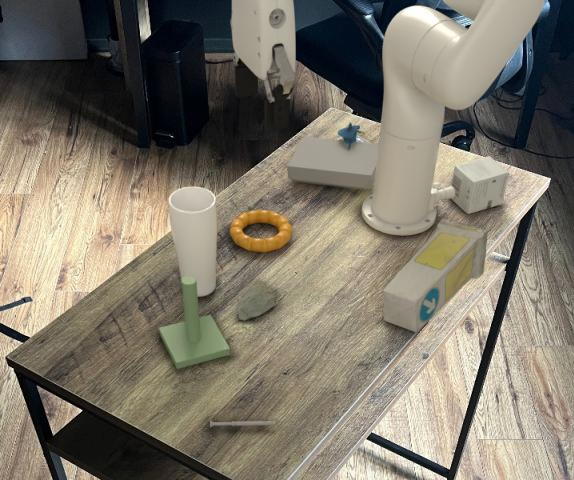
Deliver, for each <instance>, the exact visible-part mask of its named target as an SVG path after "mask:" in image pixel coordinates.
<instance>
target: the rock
mask: <svg viewBox="0 0 574 480" xmlns="http://www.w3.org/2000/svg"><path fill="white" fill-rule="evenodd" d="M275 305H276V296H275V294H274V292H273V290H272V288H271V287H269V286H268V285H266V284H265V283H263V282H262V281H260V280H257V281H255V283H254V285H253V286H252V288H251V289H250V290H249V291H247V292H246V295H245V296H244V297H242V298H241V299H240V301H239V304H238V308H237V309H236V314H237V316H238V320H240V321H243V322H245V321H247V320H250V319H252V318H255V317H260V316H261V315H264V314H265V313H267V311H269V310H271V309H272V308H274V307H275Z"/></svg>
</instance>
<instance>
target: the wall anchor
mask: <svg viewBox="0 0 574 480" xmlns="http://www.w3.org/2000/svg"><path fill="white" fill-rule="evenodd" d="M276 423H277V422H276V420H273V421H272V420H267V421H265V420H257V421H256V420H252V421H251V420H249V421H233V420H232V421H218V422H217V421H216V422H214V421H213V420H212V419H210V420H209V428H210V429H211V428H213V427H216V426H218V427H220V426H222V427H223V426H225V427H226V426H232V428H233V427H236V426H237V427H239V426H240V427H245V426H247V427H249V426H250V427H251V426H255V427H256V426H257V427H258V426H260V427H263V426H268V427H269V426H276V425H277V424H276Z"/></svg>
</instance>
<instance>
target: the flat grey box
mask: <svg viewBox="0 0 574 480" xmlns="http://www.w3.org/2000/svg"><path fill="white" fill-rule="evenodd" d="M335 139H336V138H324V137H315V136H305V135H304V136H303V137H302V139H301V141H300V142H299V144H298V146H297V148H296V149H295V152H294V153H293V155H292V156H291V158H290V160H289V162H288V163H287V165H286V168H287V169H286V170H287V178H288V179H289V180H290V181H292V182H296V183H299V184H300V183H301V184H308V185H318V186H326V187H334V188H335V187H336V188H343V189H353V190H372V188H373V187H374V179H375V170H376V162H377V153H378V144H379V143H375V142H374V143H373V142H370V143H365V142H355V141H354V142H353V143H351V145H350V148H349V143H345V142H343V140H335ZM348 148H349V150H348Z"/></svg>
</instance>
